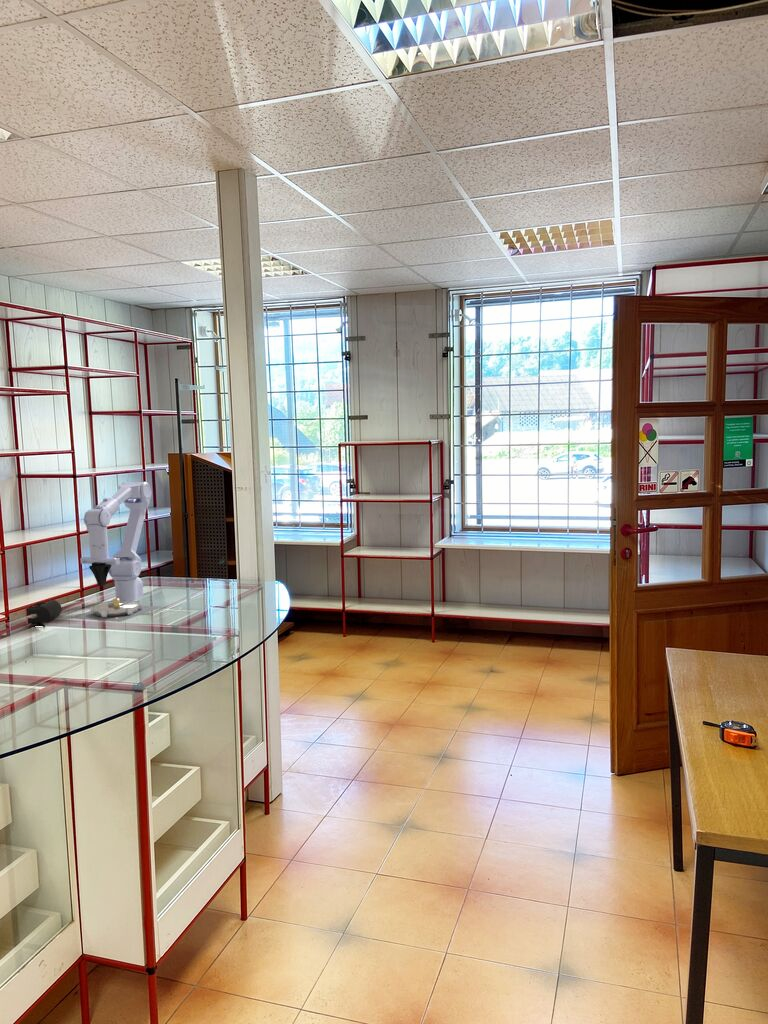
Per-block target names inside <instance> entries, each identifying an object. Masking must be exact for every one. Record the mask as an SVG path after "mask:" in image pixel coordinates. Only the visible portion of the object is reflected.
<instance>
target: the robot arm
mask: <svg viewBox="0 0 768 1024" xmlns="http://www.w3.org/2000/svg"><path fill="white" fill-rule="evenodd" d="M150 485H151V484H149V482H148V481H141V482H138V481H137V482H135V481H134V482H121V483H120V484H119V485H118V489H117V490H116V492H115V493H114V494H113V496H112V497H104V498H103V499H102V501H101V502H100V503H99V504H97V505H95V507H94V508H91V509H88V510H86V512H85V513H84V515H83V516H84V517H83V522H84V525H85V528H86V531H87V532H88V540H89V541H88V542H89V555H90V556H88V557H87V556H85V557H80V564H81V565H85V564H91V565H89V567H88V568H89V570H90V571H91V572H92V574H93V576H94V578H95V580H96V583H97V586H98V587H103V586H106V585H107V583H106V582H107V578H108V575H109V576H110V577H111V578H112V580H113V581H114V590H115V591H114V593H115V598H119V599H120V601H124V600H130V601H136V600H138V599H140V598H141V599H142V598H143V597H144V583H143V580H142V579H141V578H140V577H139V576H140V574H141V571H142V558H141V557H140V556H139V555H138V553H137V549H138V545H139V541H140V537H141V534H142V529H143V525H144V521H145V516H146V513H147V508H148V507H149V506H150V502H151V498H152V494H153V493H152V488H151V486H150ZM121 504H124V506H125V508H128V509H129V511H130V512H129V515H128V518H127V523H126V527H125V530H124V534H123V535H124V536H123V539H122V543H121V545H120V550H119V551H117V552H115V554H113V555H112V557H111V556H110V551H109V539H108V526H109V525H110V522H111V519H112V518H113V517H112V516H114V515H115V514H116V513H117V512H118V511H119V509H120V505H121Z"/></svg>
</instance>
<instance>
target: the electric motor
mask: <svg viewBox="0 0 768 1024" xmlns="http://www.w3.org/2000/svg"><path fill="white" fill-rule="evenodd" d="M62 608H63V607H62V605H61V604H60V602H59V601H57V600H54V599H50V600H48V601H45V602H44V601H42V602H36V603H34V605H33V606H32V605H31V606H29V607H28V608H26V615H36V617H28V618H27V624H29V625H28V628H29V627H35V626H44V627H46V626H45V625H46V624H47V623H50V622H51V621H53V620H54V619H55V618H58V617H59V616H60V615H61V613H62Z"/></svg>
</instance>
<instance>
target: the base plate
mask: <svg viewBox="0 0 768 1024" xmlns="http://www.w3.org/2000/svg"><path fill="white" fill-rule="evenodd" d="M160 608H161V606H152V605H142V609H139V610H138V611H137V612H134V613H133V614H129V615H121V616H110V617H102V616H96V615H94V614H93V615H91V610H89V611H88V612H84V613H81V614H77V615H74V616H71V617H70V619H77V620H89V621H90V620H92V621H106V622H124V621H127V620H129V619H132V618H134V617H137V616H140V615H144V614H146V613H149V612H151V611H154V610H157V609H160Z"/></svg>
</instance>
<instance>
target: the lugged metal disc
mask: <svg viewBox="0 0 768 1024" xmlns="http://www.w3.org/2000/svg"><path fill="white" fill-rule="evenodd" d="M142 606H143V605H142V602H141V601H136V600H133V601H130V600H124V601H120V599H119V598H116V597H114V598H112V601H108V602H107V601H104V602H103V601H102V602H100V603H99V604H96V605H94V606H91V607H90V611H91V615H93V614H94V615H96V616H102V617H110V616H121V615H129V614H133V613H134V612H137V611H138V610H139V609H142Z"/></svg>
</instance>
